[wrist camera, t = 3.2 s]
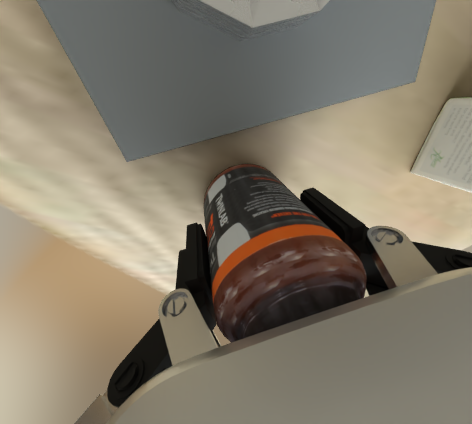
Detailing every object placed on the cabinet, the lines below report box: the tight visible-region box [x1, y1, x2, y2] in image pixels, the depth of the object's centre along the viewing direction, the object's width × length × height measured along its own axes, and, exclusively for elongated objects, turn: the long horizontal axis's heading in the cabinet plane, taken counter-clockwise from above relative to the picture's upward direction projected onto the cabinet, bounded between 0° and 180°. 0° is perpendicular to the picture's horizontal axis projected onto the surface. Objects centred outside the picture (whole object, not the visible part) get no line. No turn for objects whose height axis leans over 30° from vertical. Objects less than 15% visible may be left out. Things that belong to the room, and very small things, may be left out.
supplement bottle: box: [204, 164, 366, 343], centre depth 9 cm, size 6×6×11 cm
